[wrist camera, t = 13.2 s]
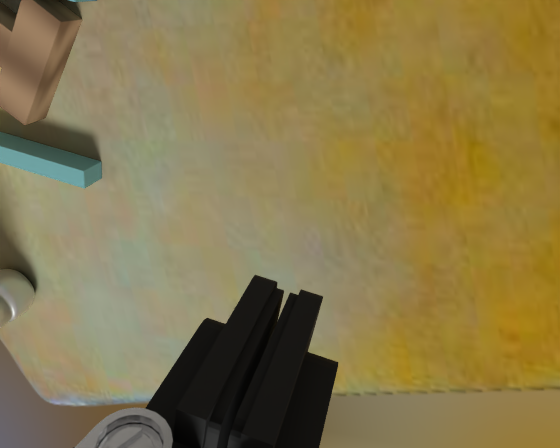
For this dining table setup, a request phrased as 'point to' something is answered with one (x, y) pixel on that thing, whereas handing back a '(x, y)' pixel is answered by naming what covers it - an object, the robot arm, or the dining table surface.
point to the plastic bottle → (14, 295)
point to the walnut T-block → (34, 55)
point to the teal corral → (49, 159)
